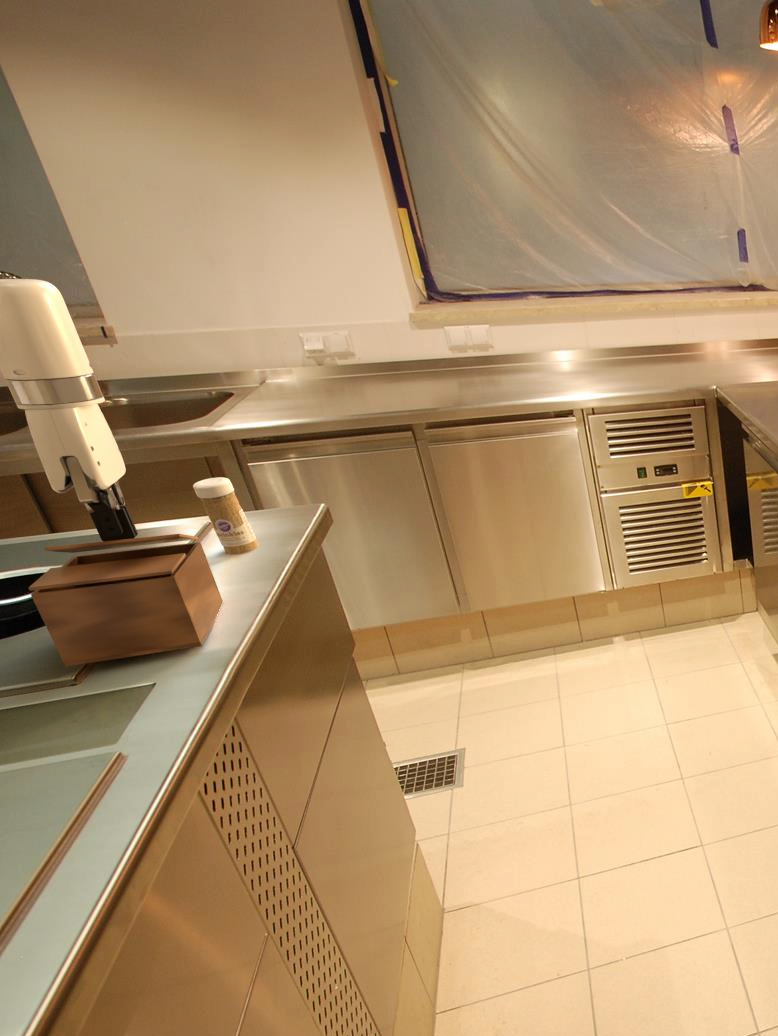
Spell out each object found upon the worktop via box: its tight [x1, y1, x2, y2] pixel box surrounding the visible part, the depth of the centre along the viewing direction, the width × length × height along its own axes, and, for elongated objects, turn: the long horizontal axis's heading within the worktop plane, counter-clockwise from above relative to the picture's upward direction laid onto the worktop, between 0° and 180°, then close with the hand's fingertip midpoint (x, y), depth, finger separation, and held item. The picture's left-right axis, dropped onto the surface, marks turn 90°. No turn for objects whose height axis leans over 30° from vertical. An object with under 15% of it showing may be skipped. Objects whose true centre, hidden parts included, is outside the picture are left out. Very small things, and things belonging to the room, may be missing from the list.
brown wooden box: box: [28, 541, 224, 667], centre depth 108 cm, size 13×15×10 cm
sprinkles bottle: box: [192, 476, 260, 555], centre depth 132 cm, size 5×5×14 cm
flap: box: [43, 533, 199, 554], centre depth 109 cm, size 13×7×1 cm, turn 119°
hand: (120, 538), depth 107 cm, fingers closed
